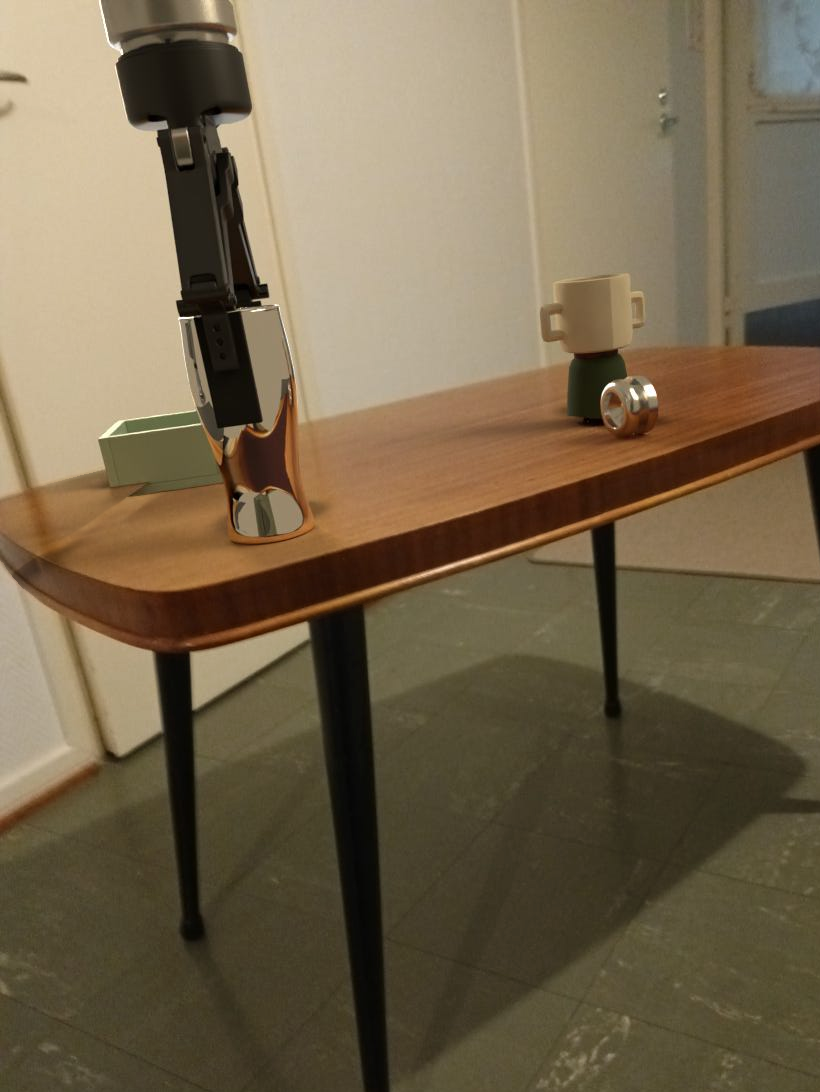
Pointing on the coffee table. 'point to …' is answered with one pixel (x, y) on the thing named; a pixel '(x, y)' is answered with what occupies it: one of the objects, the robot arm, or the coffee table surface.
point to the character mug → (592, 334)
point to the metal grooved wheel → (629, 406)
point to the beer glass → (256, 435)
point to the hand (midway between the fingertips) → (251, 409)
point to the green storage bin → (159, 453)
